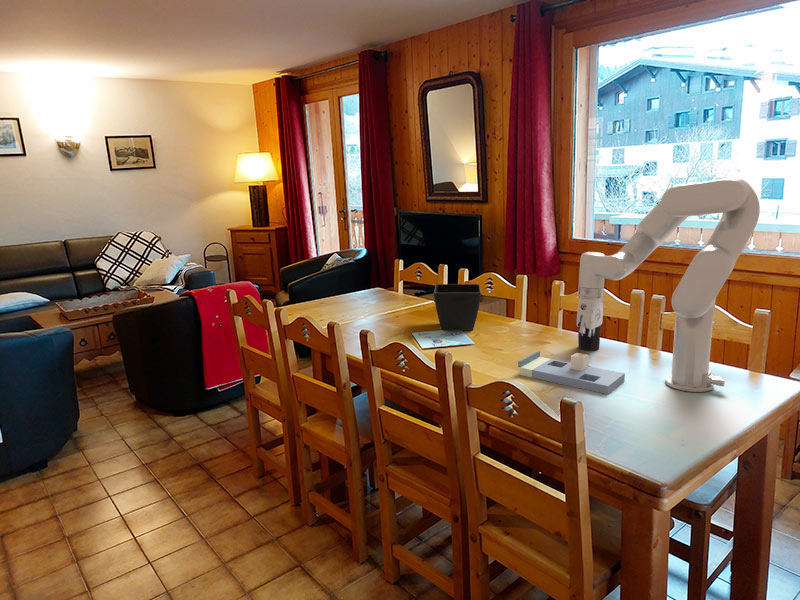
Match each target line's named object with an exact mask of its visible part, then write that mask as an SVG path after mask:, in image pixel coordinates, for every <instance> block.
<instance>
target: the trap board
mask: <svg viewBox="0 0 800 600" xmlns="http://www.w3.org/2000/svg"><path fill="white" fill-rule="evenodd" d="M517 364H518V365H517V367H518V368H520V372H519V373H520V376H524V377H528V378H531V379H538V380H541V381H546V382H549V383H550V382H552V383H554V384H559V385H563V386H569V387H574V388H578V389H581V390H586V391H590V392H595V393H596V392H597V393H600V394H604V395H609V394H610V393H612V391H613V392H614V390H616V389H617V387H619V386H621V384H623V383H625V381H626V380H625V378H626V373H624V372H619V371H614V370H610V369H605V368H604V369H603V368H601V367H600V368H599V367H595V366H589V365H588V368H586V369H585V370H583V371H581V370H576V369H571V368H570V366H571V362H568V361H562V360H558V359H553V358H549V357H543V356H541V351H540V350H536V351H534V352H533V353H531V354H528V355H527V356H525V357H523V358H521V359H519V360H517Z"/></svg>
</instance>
